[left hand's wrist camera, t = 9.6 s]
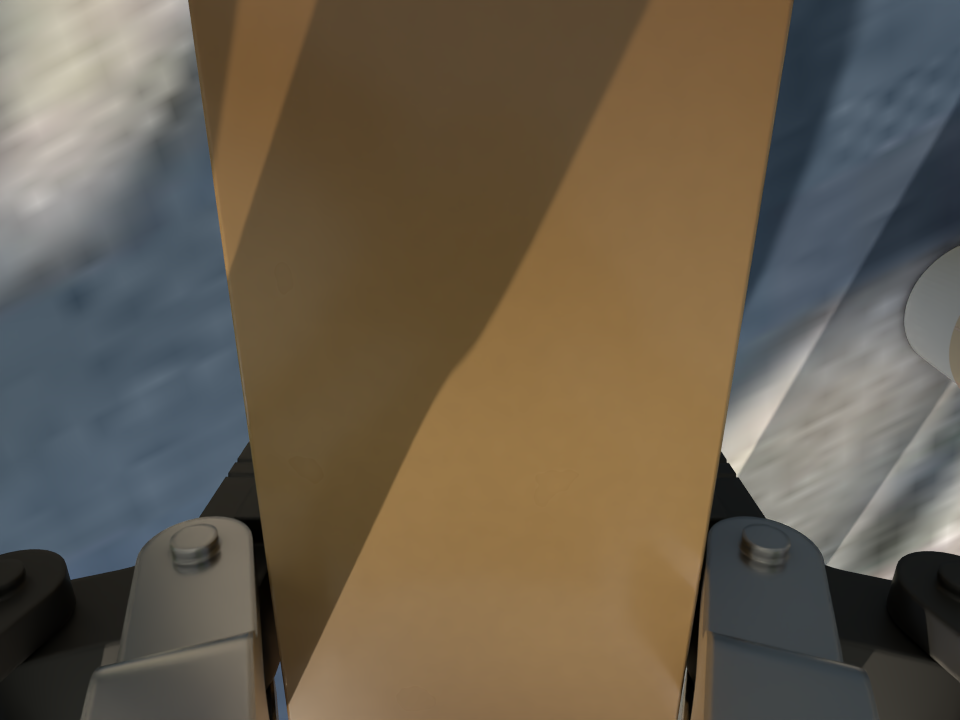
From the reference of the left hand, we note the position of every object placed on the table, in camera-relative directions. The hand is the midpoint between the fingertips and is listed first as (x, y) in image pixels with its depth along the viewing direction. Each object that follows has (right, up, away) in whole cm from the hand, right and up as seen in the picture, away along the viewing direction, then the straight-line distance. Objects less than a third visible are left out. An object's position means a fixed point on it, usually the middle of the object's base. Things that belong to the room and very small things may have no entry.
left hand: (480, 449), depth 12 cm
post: (0, +24, -6) cm, 24 cm away
